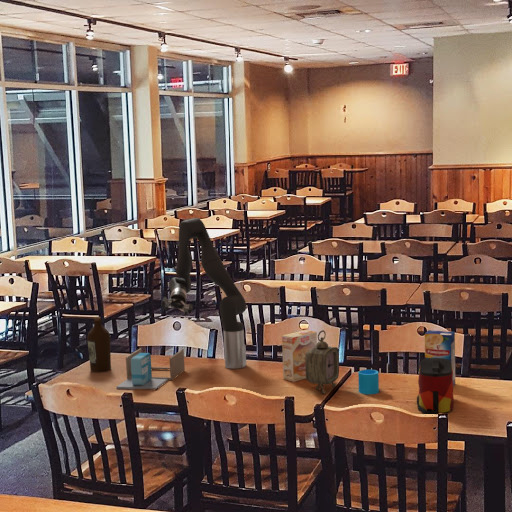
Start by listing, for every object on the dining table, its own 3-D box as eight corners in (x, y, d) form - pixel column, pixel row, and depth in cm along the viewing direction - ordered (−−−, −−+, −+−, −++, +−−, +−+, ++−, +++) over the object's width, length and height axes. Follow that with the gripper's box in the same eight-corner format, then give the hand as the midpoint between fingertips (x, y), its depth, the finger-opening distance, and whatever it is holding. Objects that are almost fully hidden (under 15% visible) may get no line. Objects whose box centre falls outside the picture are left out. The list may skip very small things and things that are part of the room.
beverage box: (451, 388, 354) (451, 335, 352) (425, 385, 359) (424, 333, 356) (455, 383, 360) (455, 331, 358) (429, 381, 365) (428, 330, 362)
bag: (454, 417, 317) (453, 373, 315) (415, 416, 320) (414, 373, 318) (453, 394, 346) (452, 354, 344) (417, 393, 349) (417, 353, 347)
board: (167, 381, 382) (167, 379, 382) (156, 390, 369) (155, 387, 369) (129, 380, 387) (129, 377, 387) (116, 388, 373) (116, 386, 373)
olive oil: (106, 365, 415) (102, 314, 412) (116, 369, 406) (112, 317, 403) (85, 369, 409) (82, 317, 406) (95, 373, 400) (91, 320, 397)
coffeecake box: (294, 382, 373) (292, 337, 371) (282, 379, 378) (281, 335, 376) (318, 375, 383) (317, 331, 380) (307, 372, 388) (305, 329, 386)
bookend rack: (184, 370, 400) (183, 349, 399) (171, 380, 383) (170, 358, 382) (141, 369, 405) (140, 348, 404) (127, 379, 389) (125, 357, 387)
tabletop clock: (325, 395, 351) (323, 335, 347) (304, 393, 355) (303, 333, 352) (339, 386, 363) (338, 327, 360) (320, 384, 368) (318, 326, 364)
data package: (141, 386, 372) (140, 358, 371) (132, 385, 373) (130, 358, 372) (152, 378, 384) (150, 352, 382) (142, 378, 385) (141, 351, 383)
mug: (377, 394, 349) (377, 374, 348) (357, 394, 351) (356, 374, 350) (380, 386, 361) (380, 367, 360) (361, 386, 363) (360, 366, 362)
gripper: (165, 286, 408) (162, 299, 393) (195, 294, 410) (193, 308, 395) (161, 301, 411) (158, 314, 395) (190, 308, 412) (189, 322, 397)
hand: (176, 311), depth 395 cm, fingers open, 8 cm apart
